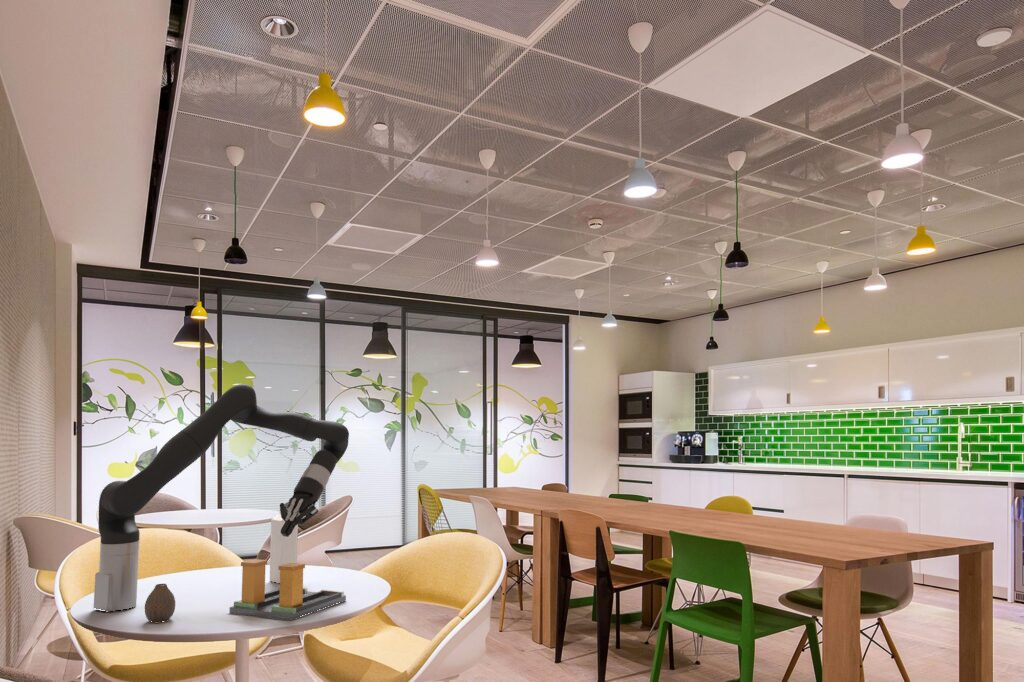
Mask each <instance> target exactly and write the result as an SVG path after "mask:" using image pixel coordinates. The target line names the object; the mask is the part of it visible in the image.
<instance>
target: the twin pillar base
mask: <svg viewBox="0 0 1024 682" xmlns="http://www.w3.org/2000/svg"><path fill="white" fill-rule="evenodd" d="M305 568H306V563H299V562H297V563H288V564H284V565H280V566H278V570H280V584H279V589H275V590H272V591H268V592H265V601H262V602H259V603H251V602H242V599H241V600H235V601H233V605H232V606H229V612H228V613H229V614H232V613H233V614H234V615H239V616H241V615H242V616H250V617H257V618H265V619H273V620H280V621H287V622H288V621H291V622H292V621H294V619H295V620H297V619H299V618H298V617H300V616H302V615H305V614H308V613H311V612H314V611H317V610H319V609H323V608H325V607H328V606H331V605H333V604H336V603H339V602H342V601H345V600H347V595H345V591H343V590H342V591H341V590H334V589H333V590H331V589H321V590H320V591H319V590H318V591H317V592H316V591H308V588H307V587H304V569H305ZM345 602H346V601H345ZM342 603H343V602H342ZM339 604H340V603H339ZM336 605H337V604H336ZM331 607H332V606H331ZM328 608H329V607H328ZM325 609H326V608H325ZM323 610H324V609H323ZM317 612H318V611H317ZM314 613H315V612H314ZM311 614H312V613H311ZM296 618H297V619H296ZM300 618H301V617H300Z"/></svg>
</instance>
